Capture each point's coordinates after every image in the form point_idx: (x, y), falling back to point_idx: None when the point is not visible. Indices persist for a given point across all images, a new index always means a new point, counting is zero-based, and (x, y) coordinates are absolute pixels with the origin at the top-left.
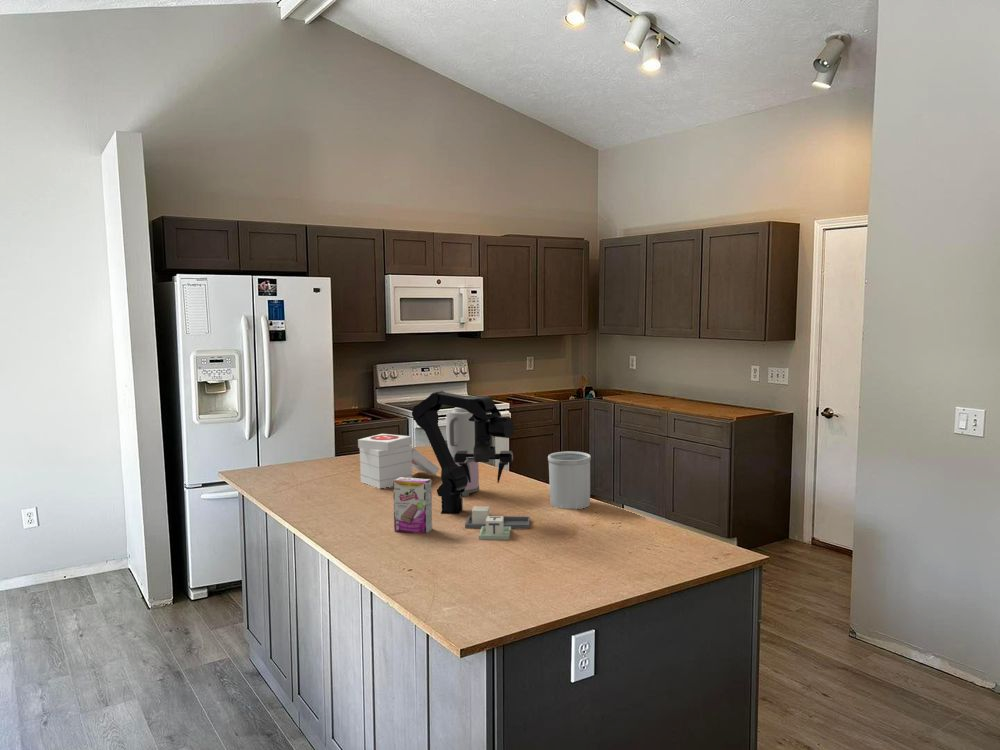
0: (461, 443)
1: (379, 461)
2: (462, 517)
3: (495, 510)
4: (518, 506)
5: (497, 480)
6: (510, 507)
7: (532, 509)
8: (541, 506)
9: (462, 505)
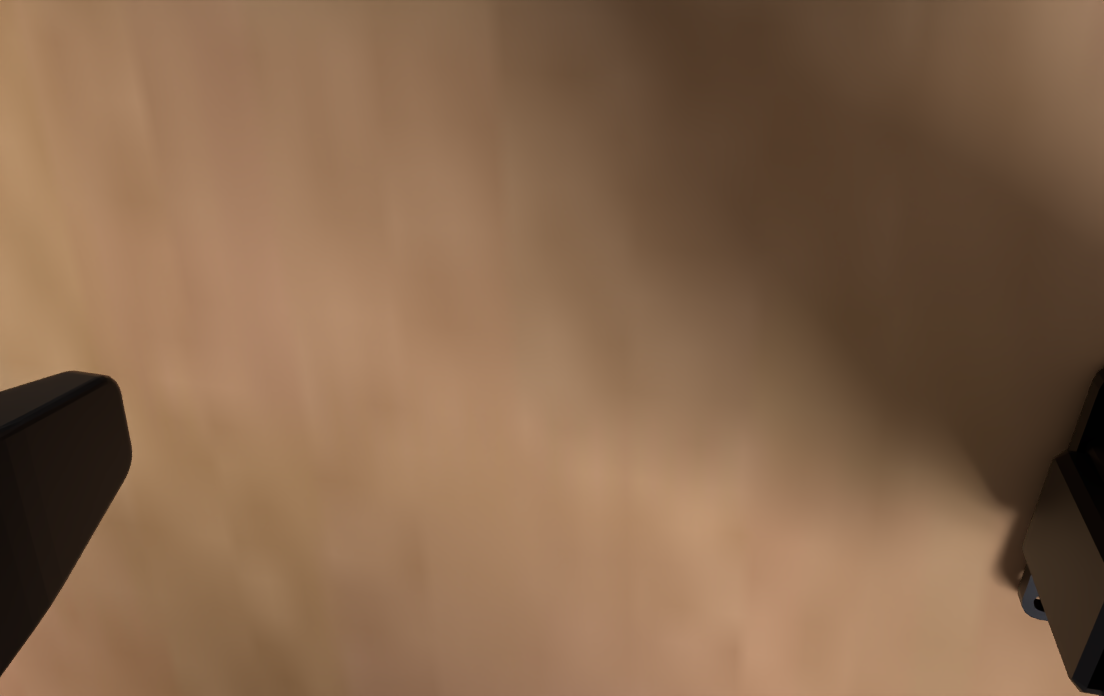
0: None
1: None
2: (1072, 217)
3: (529, 499)
4: (261, 606)
5: (55, 402)
6: (349, 586)
7: None
8: None
9: (1050, 560)
